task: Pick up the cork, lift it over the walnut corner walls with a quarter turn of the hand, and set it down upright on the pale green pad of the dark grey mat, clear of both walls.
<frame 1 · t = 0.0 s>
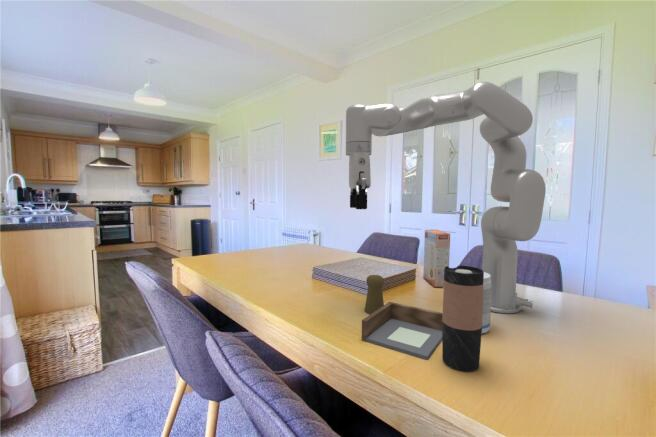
hand: (358, 208, 93), 31 cm above the table, tool pointing down, fingers open, 9 cm apart
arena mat: (405, 336, 78), on the table
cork: (374, 311, 95), on the table
travel mug: (460, 363, 66), on the table
supplement tub: (469, 328, 84), on the table
walls: (405, 336, 78), resting on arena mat
cracker box: (435, 283, 126), on the table
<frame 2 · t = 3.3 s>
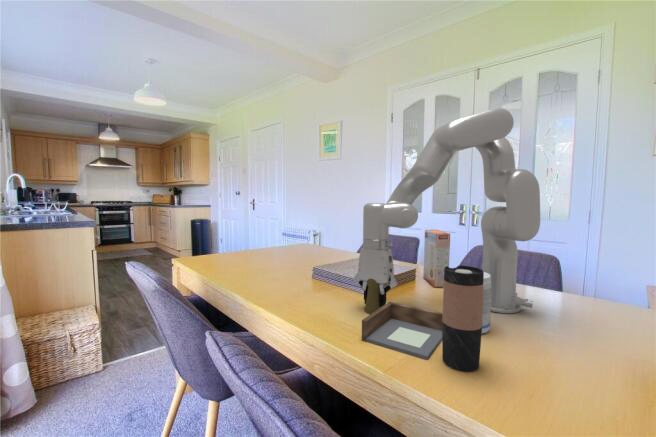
hand: (374, 303, 95), 2 cm above the table, tool pointing down, fingers closed on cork, 4 cm apart
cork: (374, 311, 95), on the table, touching gripper
everything else where it was.
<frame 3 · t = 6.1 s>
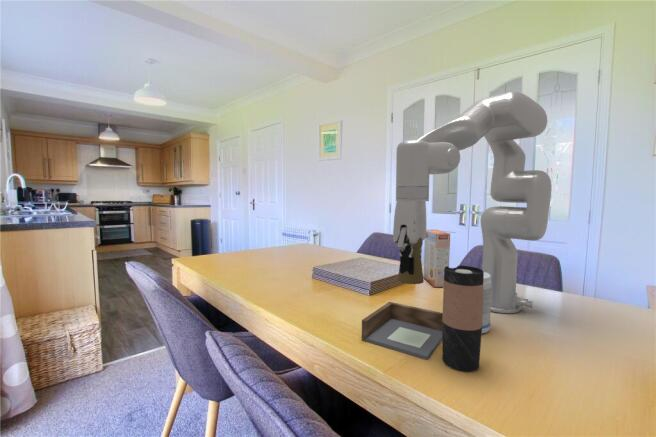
hand: (410, 270, 75), 17 cm above the table, tool pointing down, fingers closed on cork, 4 cm apart
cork: (410, 281, 75), point 15 cm above the table, touching gripper
everything else where it was.
when the fingers open (5 cm above the table, at t = 9.1 s): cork drops 1 cm, resting on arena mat.
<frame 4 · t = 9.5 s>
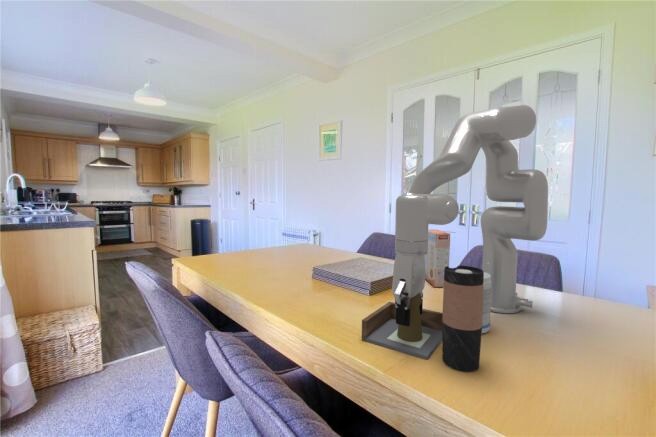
hand: (409, 318, 76), 5 cm above the table, tool pointing down, fingers open, 8 cm apart
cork: (409, 337, 76), point 1 cm above the table, touching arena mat
everything else where it was.
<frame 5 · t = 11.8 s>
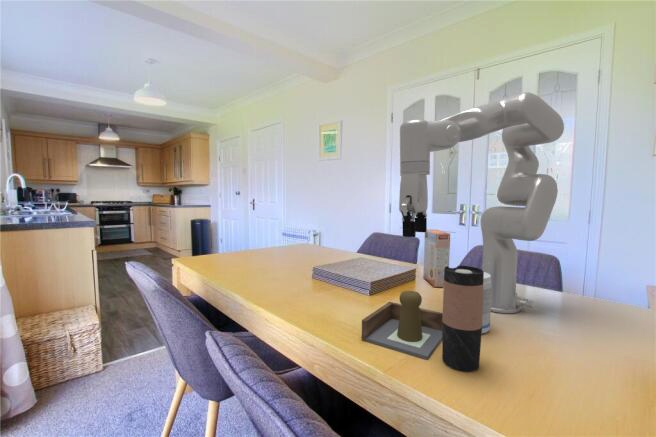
hand: (415, 234, 84), 25 cm above the table, tool pointing down, fingers open, 9 cm apart
nothing on the table moved.
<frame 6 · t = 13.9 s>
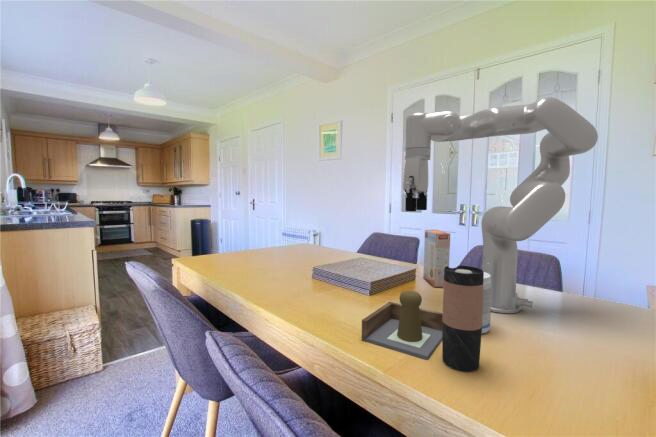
hand: (416, 210, 98), 30 cm above the table, tool pointing down, fingers open, 9 cm apart
nothing on the table moved.
at the end: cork inside the target area on the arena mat (0.3 cm from its centre), point 0.8 cm above the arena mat's base; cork tilted 0°; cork touching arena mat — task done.
